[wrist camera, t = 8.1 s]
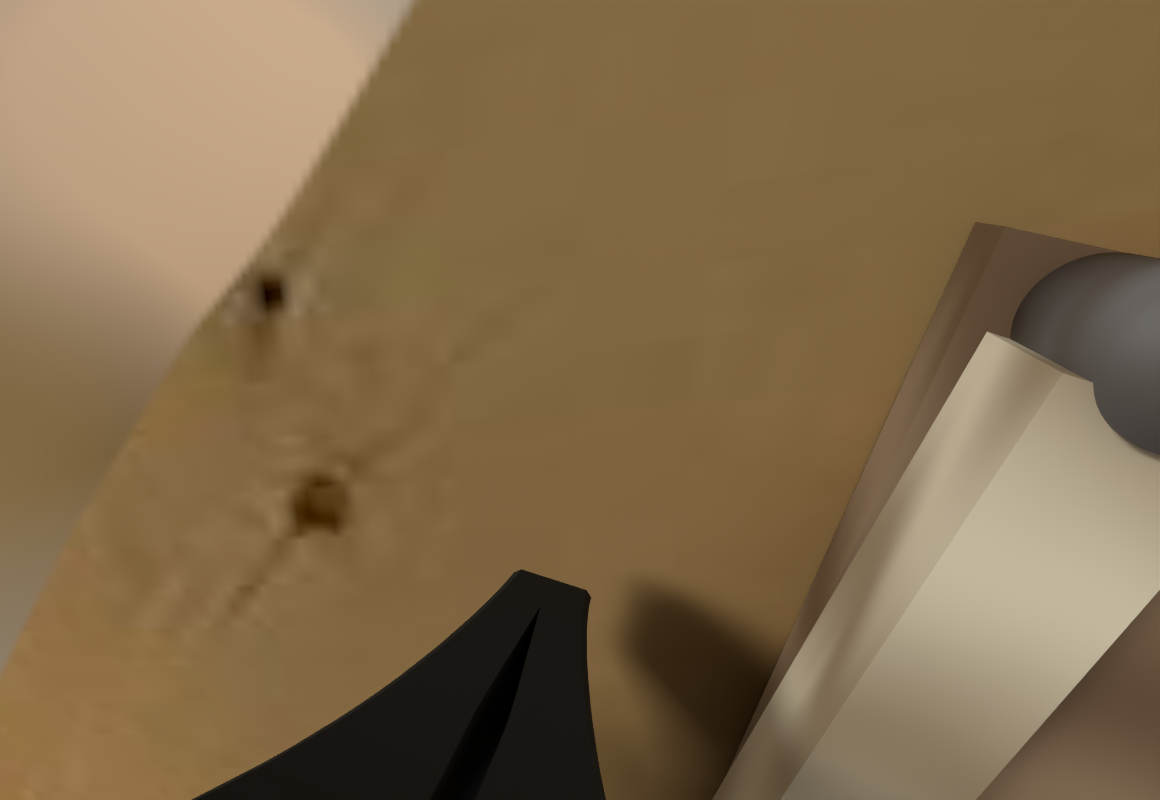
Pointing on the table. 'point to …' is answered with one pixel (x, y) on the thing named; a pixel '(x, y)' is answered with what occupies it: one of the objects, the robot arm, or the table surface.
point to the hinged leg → (986, 560)
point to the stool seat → (964, 315)
